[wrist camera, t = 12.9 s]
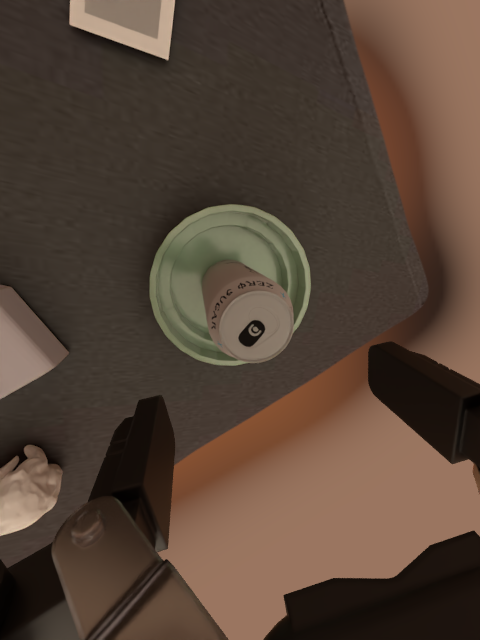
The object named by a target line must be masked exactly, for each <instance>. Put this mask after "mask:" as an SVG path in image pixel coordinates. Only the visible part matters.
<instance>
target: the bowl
mask: <svg viewBox="0 0 480 640" xmlns="http://www.w3.org/2000/svg"><path fill="white" fill-rule="evenodd" d="M222 260H236V261H239V262H241V263H243V264H245V265H246V266H248V267H250V268H252V269H253V270H255V271H257V272H259V273H260V274H262V275H264V276H266V277H267V278H269V279H271V280H273V281H274V282H276V283H277V284H278V285H280V286H281V287H282V288H283V289H284V290H285V291H286V293H287V294H288V296H289V298H290V300H291V303H292V306H293V314H294V316H293V319H294V329H293V333H294V332H295V330H296V329H297V328H298V326H299V325H300V323H301V320H302V318H303V316H304V314H305V312H306V309H307V307H308V301H309V296H310V291H311V280H310V267H309V264H308V261H307V258H306V255H305V252H304V249H303V247H302V246H301V244H300V243H299V241H298V240H297V238H296V237H295V235H294V234H293V232H292V231H291V230H290V229H289V228H288V227H287V226H286V225H284V224H283V223H282V222H281V221H280V220H279V219H277V218H276V217H274V216H273V215H271V214H269V213H267V212H264V211H262V210H260V209H258V208H256V207H251V206H244V205H237V204H227V205H220V206H213V207H209V208H206V209H203V210H201V211H199V212H197V213H195V214H193V215H190V216H188V217H187V218H185V219H184V220H183V221H182V222H181V223H180V224H178V225H177V226H176V227H175V228H174V229H173V230H172V231H170V232H169V234H168V235H167V237H166V238H165V240H164V241H163V243H162V244H161V246H160V248H159V249H158V251H157V253H156V255H155V258H154V262H153V265H152V269H151V272H150V292H149V296H150V301H151V305H152V308H153V312H154V316H155V318H156V320H157V322H158V324H159V325H160V327H161V329H162V330H163V332H164V334H165V335H166V337H167V338H168V339H170V340H171V341H172V342H173V343H174V344H175V345H176V346H177V347H178V348H179V349H180V350H181V351H183V352H185V353H186V354H188V355H190V356H192V357H194V358H195V359H197V360H200V361H203V362H207V363H211V364H214V365H240V364H245V363H248V362H243V361H240V360H238V359H236V358H234V357H231V356H229V355H227V354H225V353H224V352H222V351H221V350H220V349H219V348H218V347H217V346H216V344H215V343H214V342H213V340H212V338H211V336H210V334H209V329H208V325H207V319H206V312H205V306H204V300H203V294H202V280H203V277H204V275H205V273H206V271H207V270H208V269H209V268H210V267H211V266H212V265H213V264H215V263H216V262H219V261H222Z"/></svg>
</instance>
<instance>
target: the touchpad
mask: <svg viewBox="0 0 480 640" xmlns="http://www.w3.org/2000/svg"><path fill="white" fill-rule="evenodd" d="M174 6H175V0H70V23H69V25H71V26H74V27H77V28H80V29H82V30H85V31H88V32H91V33H94V34H96V35H99V36H102V37H105V38H108V39H110V40H113V41H116V42H119V43H122V44H124V45H127V46H130V47H133V48H136V49H138V50H141V51H144V52H147V53H150V54H152V55H155V56H158V57H161V58H163V59H166V60H169V51H170V42H171V33H172V24H173V15H174Z"/></svg>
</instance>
